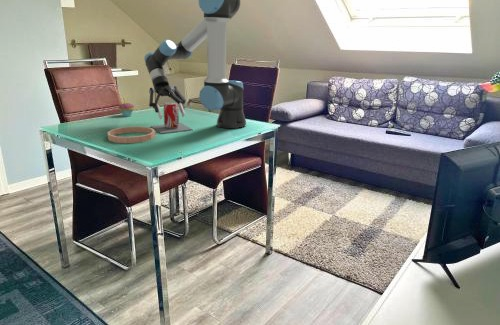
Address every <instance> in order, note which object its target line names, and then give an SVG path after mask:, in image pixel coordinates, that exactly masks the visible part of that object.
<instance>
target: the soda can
mask: <svg viewBox="0 0 500 325" xmlns="http://www.w3.org/2000/svg"><path fill="white" fill-rule="evenodd" d="M179 117H180V116H179V105H178V103H177V102H175V101H174V102H172V101H167V102H165V103H164V105H163V123H164V125H165V127H167V128H170V129H173V128H177V127H178V126H179V123H180V121H179V120H180V118H179Z"/></svg>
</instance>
